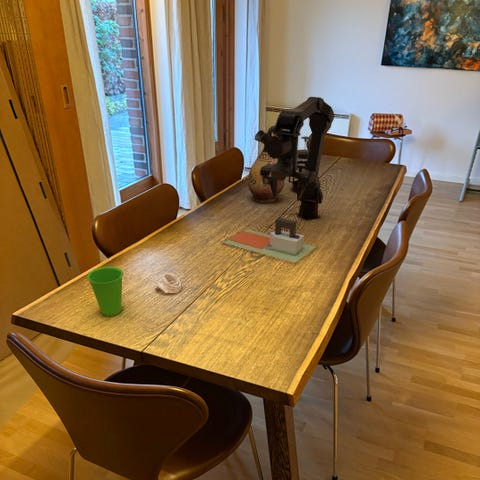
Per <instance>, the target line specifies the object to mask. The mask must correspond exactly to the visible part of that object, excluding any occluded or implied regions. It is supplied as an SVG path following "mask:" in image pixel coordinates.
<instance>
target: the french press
mask: <svg viewBox="0 0 480 480" xmlns="http://www.w3.org/2000/svg"><path fill="white" fill-rule="evenodd" d="M300 139H301V140H304V141H303V142H304V148H303V149H302V148H301V149H298V151H297V154H299V158H298V159H299V160H297V167H298V170H297V172H303V171H304V170H306V165H307V159H308V154H309V149H306V147H307V146H306V144H307V143H308V142H307V140H311V136H305V135H304V136H300ZM291 179H292V180H291ZM298 182H299V180H298V178H294V177H288V183H289V184H291V185H292V186H291V192H293V193H296V194H297V187H298V185H297V183H298Z"/></svg>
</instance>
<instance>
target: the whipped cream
mask: <svg viewBox="0 0 480 480" xmlns="http://www.w3.org/2000/svg"><path fill="white" fill-rule="evenodd" d="M172 281H173V283H170V282H172ZM159 289H160V290H161V291H162V292H163V293H165V294H168V293H170V294H177V293H179V292H180V291H181V289H182V283H181V281H180V279H179V278H178V276H176V275H175V274H173V273H171V272H168V273H164V274H163V275H162V276H161V278H160V280H158V282H157V285H156V287H155V291H157V290H159Z"/></svg>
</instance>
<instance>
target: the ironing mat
mask: <svg viewBox="0 0 480 480" xmlns="http://www.w3.org/2000/svg"><path fill="white" fill-rule="evenodd" d="M223 243H224V244H227V245H230V246H234V247H237V248H241V249H245V250H248V251H252V252H255V253H259V254H261V255H265V256H269V257H273V258H275V259H276V258H277V259H280V260H282V261H283V260H284V261H287V262H290V263H294V264H296V263H297V262H298V261H299V260H301V259H302V258H303V257H305V256H307V254H309V253H310V252H312V251H313V250H315V249H316V248H317V246H315V245H310V244H307V243H303V250H302V251H301V252H299V253H298V254H297V255H296V256H293V255H288V254H284V253H280V252H276V251H272V250H268V249H266V246H267V245H268V244H269V243H270V234H268V233H265V232H261V231H256V230H253V229H250V228H247V229H245V230H243V231H242V232H239V233H238V234H236V235H234V236H233V237H231V238H229V239H227V240H225V241H224V242H223Z"/></svg>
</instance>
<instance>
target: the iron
mask: <svg viewBox="0 0 480 480" xmlns="http://www.w3.org/2000/svg"><path fill="white" fill-rule="evenodd" d="M274 221H275V222H274V231H270V234H269V235H270V243H269V244H268V245H267V246H266V249H268V250H272V251H276V252H280V253H284V254H288V255H293V256H296V255H297V254H298V253H299V252H301V251H302V250H303V244H305V243H304V242H305V241H304V240H305V235H304V234H299V233H297V220H292V219H287V218H282V217H277V218H276V219H274ZM282 229H288V230H289V231H285V230H282Z"/></svg>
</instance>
